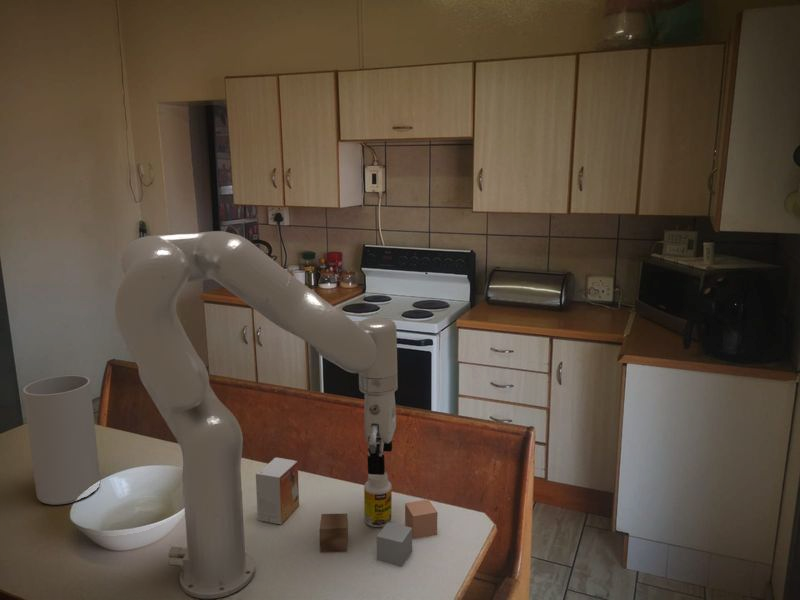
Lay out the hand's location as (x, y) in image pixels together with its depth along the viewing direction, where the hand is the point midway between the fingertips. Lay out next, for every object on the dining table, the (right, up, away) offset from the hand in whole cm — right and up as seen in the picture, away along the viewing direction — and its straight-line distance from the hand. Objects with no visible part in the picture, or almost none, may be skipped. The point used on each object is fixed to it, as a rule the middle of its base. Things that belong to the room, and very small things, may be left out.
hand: (380, 461), depth 122 cm
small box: (-21, -12, +5) cm, 25 cm away
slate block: (+3, -15, -9) cm, 18 cm away
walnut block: (-9, -14, -6) cm, 18 cm away
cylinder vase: (-70, -10, +13) cm, 72 cm away
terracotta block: (+8, -13, -1) cm, 16 cm away
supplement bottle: (-1, -13, +2) cm, 13 cm away
